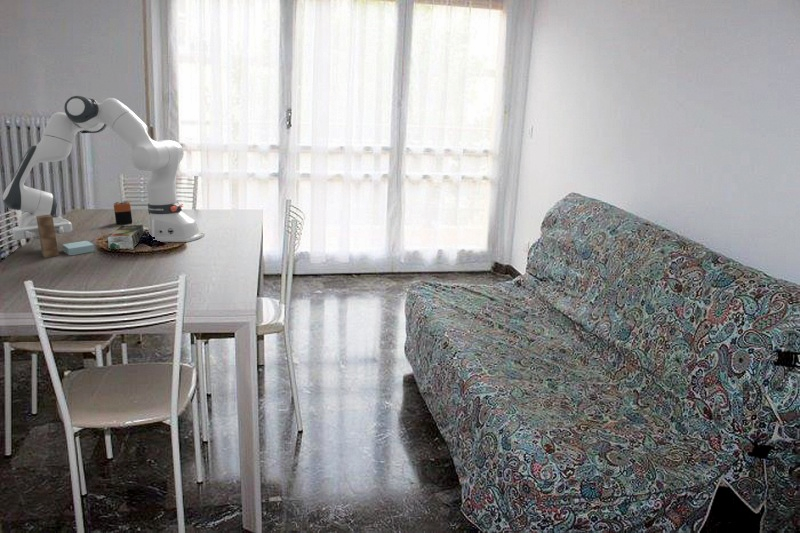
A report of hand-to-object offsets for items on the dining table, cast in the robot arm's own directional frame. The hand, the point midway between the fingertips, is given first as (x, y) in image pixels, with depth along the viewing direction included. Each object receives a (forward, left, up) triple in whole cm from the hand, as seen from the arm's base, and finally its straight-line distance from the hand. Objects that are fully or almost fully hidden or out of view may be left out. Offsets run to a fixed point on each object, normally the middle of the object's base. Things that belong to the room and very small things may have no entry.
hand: (47, 233), depth 255 cm
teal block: (-6, -8, -9) cm, 13 cm away
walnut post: (0, 0, -9) cm, 9 cm away
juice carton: (-17, -22, -9) cm, 29 cm away
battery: (+8, -55, -9) cm, 56 cm away
